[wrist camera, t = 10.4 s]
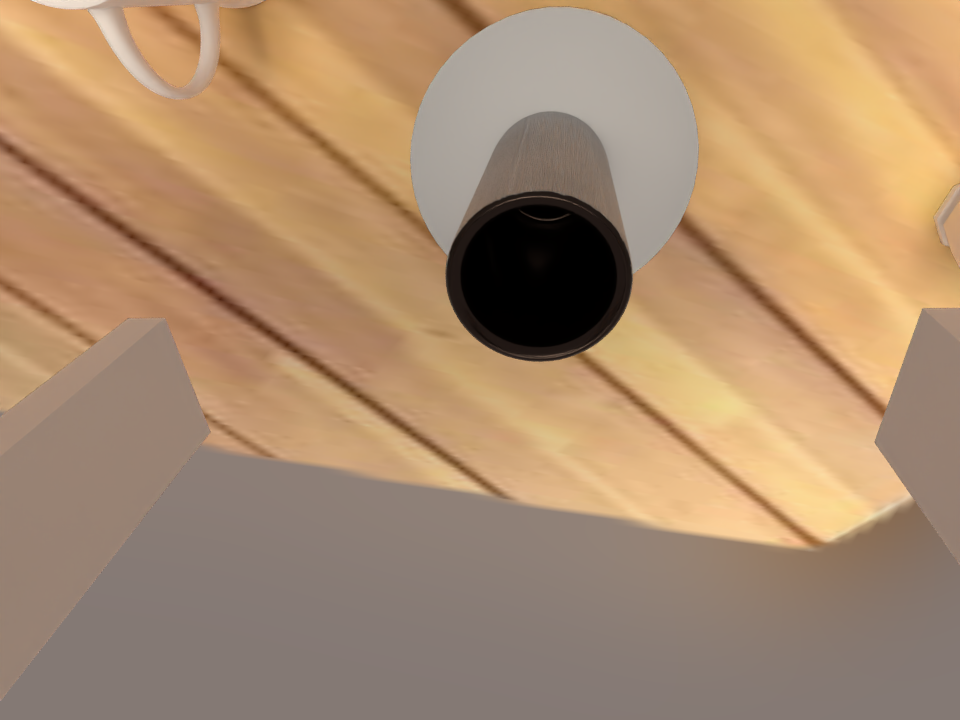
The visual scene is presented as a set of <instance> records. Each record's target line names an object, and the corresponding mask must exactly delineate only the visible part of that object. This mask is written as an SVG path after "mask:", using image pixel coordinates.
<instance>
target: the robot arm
mask: <svg viewBox="0 0 960 720" xmlns="http://www.w3.org/2000/svg"><path fill="white" fill-rule="evenodd" d="M209 433H210V430H209V427H208V425H207V422H206V420H205V417H204V414H203V412H202V409H201V407H200V404H199V402H198V399H197V397H196V394H195V392H194V389H193V387H192V384H191V382H190V379H189V377H188V374H187V372H186V369H185V367H184V364H183V362H182V359H181V357H180V354H179V352H178V349H177V347H176V344H175V341H174V339H173V336H172V334H171V331H170V329H169V326H168V324H167V321H166V319H165V318H128V319H127V320H125V321H124V322H123V323H121V324H120V325H119V326H117V327H116V328H115V329H114V330H112V331H111V332H110V333H108V334H107V335H106V336H104V337H103V338H102V339H101V340H99V341H98V342H97V343H95V344H94V345H93V346H91V347H90V348H89V349H88V350H86V351H85V352H84V353H82V354H81V355H80V356H79V357H77V358H76V359H75V360H73V361H72V362H71V363H69V364H68V365H67V366H66V367H64V368H63V369H62V370H60V371H59V372H58V373H56V374H55V375H54V376H53V377H51V378H50V379H49V380H47V381H46V382H45V383H43V384H42V385H41V386H40V387H38V388H37V389H36V390H34V391H33V392H32V393H30V394H29V395H28V396H27V397H25V398H24V399H23V400H21V401H20V402H19V403H18V404H16V405H15V406H14V407H12V408H11V409H10V410H8V411H7V412H6V413H5V414H3V415H2V416H1V417H0V701H1V700H2V698H3V697H4V696H5V695H6V693H7V692H8V691H9V689H10V688H11V687H12V686H13V684H14V683H15V682H16V681H17V679H18V678H19V677H20V675H21V674H22V673H23V672H24V670H25V669H26V668H27V666H28V665H29V664H30V663H31V661H32V660H33V659H34V657H35V656H36V655H37V654H38V652H39V651H40V650H41V649H42V647H43V646H44V645H45V643H46V642H47V641H48V640H49V638H50V637H51V636H52V635H53V633H54V632H55V631H56V629H57V628H58V627H59V626H60V624H61V623H62V622H63V620H64V619H65V618H66V617H67V615H68V614H69V613H70V611H71V610H72V609H73V608H74V606H75V605H76V604H77V602H78V601H79V600H80V599H81V597H82V596H83V595H84V594H85V592H86V591H87V590H88V588H89V587H90V586H91V584H92V583H93V582H94V581H95V579H96V578H97V577H98V576H99V574H100V573H101V572H102V570H103V569H104V568H105V566H106V565H107V564H108V563H109V562H110V560H111V559H112V558H113V556H114V555H115V554H116V553H117V551H118V550H119V549H120V547H121V546H122V545H123V544H124V542H125V541H126V540H127V538H128V537H129V536H130V534H131V533H132V532H133V531H134V529H135V528H136V527H137V526H138V524H139V523H140V522H141V521H142V519H143V518H144V517H145V515H146V514H147V513H148V512H149V510H150V509H151V508H152V506H153V505H154V504H155V503H156V501H157V500H158V499H159V497H160V496H161V495H162V494H163V492H164V491H165V490H166V489H167V487H168V486H169V485H170V483H171V482H172V481H173V479H174V478H175V477H176V476H177V474H178V473H179V472H180V471H181V469H182V468H183V467H184V465H185V464H186V463H187V462H188V460H189V459H190V458H191V456H192V455H193V454H194V453H195V451H196V450H197V449H198V448H199V446H200V445H201V444H202V442H203V441H204V440H205V439H206V437H207V436H208V435H209ZM875 444H876V445H877V447H878V448H879V450H880V451H881V453H882V454H883V455H884V457H885V458H886V460H887V461H888V463H889V464H890V465H891V467H892V468H893V470H894V471H895V473H896V474H897V476H898V477H899V478H900V480H901V481H902V483H903V484H904V486H905V487H906V489H907V490H908V491H909V493H910V494H911V496H912V497H913V499H914V500H915V502H916V503H917V504H918V506H919V507H920V509H921V510H922V512H923V513H924V515H925V516H926V517H927V519H928V520H929V522H930V523H931V524H932V526H933V527H934V529H935V530H936V532H937V533H938V535H939V536H940V538H941V539H942V540H943V542H944V543H945V545H946V546H947V548H948V549H949V551H950V552H951V553H952V555H953V556H954V558H955V559H956V561H957V562H958V564H959V565H960V308H922V311H921V314H920V316H919V319H918V322H917V325H916V328H915V330H914V333H913V336H912V339H911V342H910V344H909V347H908V350H907V353H906V355H905V358H904V361H903V364H902V367H901V369H900V372H899V375H898V378H897V381H896V383H895V386H894V389H893V392H892V394H891V397H890V400H889V403H888V406H887V408H886V411H885V414H884V417H883V420H882V422H881V425H880V428H879V431H878V433H877V436H876V439H875Z"/></svg>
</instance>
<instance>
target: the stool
mask: <svg viewBox="0 0 960 720" xmlns="http://www.w3.org/2000/svg"><path fill="white" fill-rule="evenodd" d="M546 111H556V112H562V113H566V114H570V115H572V116H575V117H577V118H578V119H580V120H582V121H583V122H585V123H586V124H587V125H588V126H589V127H591V129H592V130H593V131H594V132H595V133H596V135H597V136H598V138H599V139H600V141H601V143H602V145H603V147H604V149H605V152H606V154H607V158H608V162H609V167H610V171H611V175H612V179H613V183H614V188H615V192H616V196H617V200H618V205H619V209H620V213H621V217H622V221H623V226H624V230H625V234H626V238H627V243H628V247H629V251H630V256H631V261H632V269H633V274H634V273H635V272H636V271H638V270H639V269H640V268H642V267H643V266H644V265H646V264H647V263H648V262H649V261H650V260H651V259H652V258H653V257H654V256H655V255H656V254H657V253H658V252H659V251H660V249H661V248H662V247H663V246H664V245H665V243H666V242H667V241H668V240H669V238H670V237H671V235H672V234H673V232H674V231H675V229H676V227H677V226H678V224H679V223H680V221H681V219H682V217H683V214H684V212H685V210H686V208H687V206H688V203H689V200H690V197H691V194H692V191H693V188H694V184H695V178H696V173H697V168H698V151H699V144H698V132H697V124H696V120H695V115H694V111H693V107H692V104H691V101H690V99H689V96H688V94H687V91H686V88H685V86H684V85H683V83H682V81H681V79H680V77H679V76H678V74H677V72H676V70H675V69H674V67H673V66H672V65H671V64H670V62H669V61H668V60H667V58H666V57H665V56H664V54H663V53H662V52H661V51H660V50H659V49H658V48H657V47H656V46H654V45H653V44H652V43H651V42H650V41H649V40H648V39H647V38H646V37H644V36H643V35H641V34H640V33H639V32H637V31H636V30H634V29H633V28H631V27H630V26H628V25H627V24H625V23H623V22H621V21H619V20H617V19H615V18H613V17H610V16H608V15H605V14H602V13H599V12H596V11H592V10H589V9H582V8H576V7H544V8H537V9H531V10H527V11H524V12H520V13H517V14H514V15H511V16H508V17H506V18H504V19H502V20H500V21H498V22H496V23H494V24H492V25H490V26H488V27H486V28H485V29H483V30H482V31H480V32H479V33H477V34H476V35H474V36H473V37H471V38H470V39H469V40H467V41H466V42H465V43H464V44H463V45H462V46H461V47H460V48H458V49H457V50H456V51H455V52H454V53H453V54H452V55H451V57H450V58H449V59H448V60H447V61H446V62H445V64H444V65H443V66H442V67H441V68H440V70H439V71H438V73H437V74H436V76H435V78H434V79H433V81H432V82H431V84H430V85H429V87H428V89H427V92H426V94H425V96H424V98H423V100H422V102H421V105H420V108H419V111H418V114H417V117H416V120H415V124H414V130H413V135H412V140H411V156H410V163H411V178H412V183H413V188H414V194H415V198H416V201H417V204H418V207H419V210H420V213H421V215H422V217H423V219H424V221H425V224H426V226H427V228H428V230H429V231H430V233H431V234H432V236H433V238H434V239H435V241H436V242H437V244H438V245H439V246H440V247H441V249H442V250H443V251H444V252H445V254H446V255H447V256H448V254H449V250H450V248H451V245H452V242H453V240H454V238H455V235H456V233H457V231H458V229H459V226H460V224H461V222H462V220H463V217H464V215H465V213H466V211H467V209H468V206H469V204H470V202H471V200H472V197H473V195H474V193H475V191H476V189H477V186H478V184H479V182H480V180H481V177H482V175H483V173H484V171H485V169H486V166H487V164H488V162H489V160H490V157H491V155H492V153H493V151H494V149H495V147H496V145H497V143H498V142H499V140H500V139H501V137H502V136H503V135H504V133H505V132H506V131H507V130H508V129H509V128H510V127H511V126H512V125H514V124H515V123H516V122H518V121H519V120H521V119H523V118H525V117H527V116H529V115H532V114H535V113H539V112H546Z"/></svg>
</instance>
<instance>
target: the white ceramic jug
mask: <svg viewBox="0 0 960 720" xmlns="http://www.w3.org/2000/svg"><path fill="white" fill-rule="evenodd" d="M31 1H34V2H36V3H39V4H42V5H46V6H50V7H54V8H60V9H88V12H89V13H90V14H91V15H92V16H93V18H94V19H95V21H96V22H97V24H98V26H99V28H100V29H101V31H102V33H103V35H104V37H105V38H106V40H107V42H108V44H109V45H110V47H111V48H112V50H113V52H114V53H115V55H116V56H117V57H118V59H119V60H120V61H121V63H122V64H123V65H124V66H125V68H126V69H127V70H128V71H129V72H130V73H131V74H132V75H133V76H134V77H135V78H136V79H137V80H138V81H139V82H140V83H141V84H142V85H144V86H145V87H146V88H148V89H149V90H151V91H152V92H154V93H156V94H158V95H161V96H163V97H166V98H170V99H188V98H192V97H195V96H197V95H199V94H200V93H202V92H203V91H204V90H205V89H206V88H207V87H208V85H209V84H210V82H211V81H212V79H213V77H214V74H215V71H216V68H217V64H218V60H219V53H220V20H219V7H225V8H245V7H250V6H253V5H256V4H259V3H261V2H263V1H265V0H31ZM191 4H194V6H195V8H196V11H197V15H198V18H199V23H200V32H201V50H200V58H199V63H198V67H197V70H196V72H195V74H194V76H193V78H192V79H191V81H190V82H189V83H188V84H187V85H185V86H183V87H176V86H173V85H171V84H169V83H168V82H166V81H165V80H164V79H163V78H161V77H160V76H159V75H158V74H157V73H156V72H155V71H154V70H153V68H152V67H151V66H150V65H149V63H148V62H147V61H146V59H145V58H144V56H143V55H142V53H141V52H140V50H139V48H138V47H137V45H136V43H135V41H134V39H133V37H132V35H131V33H130V30H129V27H128V25H127V21H126V18H125V14H124V10H123V8H125V7H147V6H169V5H191Z"/></svg>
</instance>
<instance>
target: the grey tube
mask: <svg viewBox="0 0 960 720" xmlns="http://www.w3.org/2000/svg"><path fill="white" fill-rule="evenodd" d="M632 282H633V269H632V261H631V256H630V251H629V247H628V243H627V238H626V234H625V230H624V226H623V221H622V217H621V213H620V209H619V205H618V200H617V196H616V192H615V188H614V183H613V179H612V175H611V171H610V167H609V162H608V158H607V154H606V152H605V149H604V147H603V145H602V143H601V141H600V139H599V138H598V136H597V135H596V133H595V132H594V131H593V130H592V129H591V127H589V126H588V125H587V124H586V123H585V122H583V121H582V120H580V119H578V118H577V117H575V116H572V115H570V114H566V113H562V112H556V111H546V112H539V113H535V114H532V115H529V116H527V117H525V118H523V119H521V120H519V121H518V122H516V123H515V124H514V125H512V126H511V127H510V128H509V129H508V130H507V131H506V132H505V133H504V135H503V136H502V137H501V139H500V140H499V142H498V143H497V145H496V147H495V149H494V151H493V153H492V155H491V157H490V160H489V162H488V164H487V166H486V169H485V171H484V173H483V175H482V177H481V180H480V182H479V184H478V186H477V189H476V191H475V193H474V195H473V197H472V200H471V202H470V204H469V206H468V209H467V211H466V213H465V215H464V217H463V220H462V222H461V224H460V226H459V229H458V231H457V233H456V235H455V238H454V240H453V242H452V245H451V248H450V250H449V254H448V258H447V263H446V287H447V293H448V296H449V300H450V303H451V305H452V308H453V310H454V312H455V314H456V315H457V317H458V319H459V320H460V322H461V323H462V324H463V326H464V327H465V328H466V329H467V331H468V332H469V333H470V334H471V335H472V336H473V337H475V338H476V339H477V340H478V341H479V342H481V343H482V344H484V345H485V346H487V347H488V348H490V349H492V350H494V351H496V352H498V353H500V354H502V355H505V356H508V357H511V358H515V359H519V360H525V361H538V362H542V361H554V360H560V359H564V358H568V357H571V356H574V355H576V354H579V353H581V352H583V351H585V350H587V349H589V348H591V347H592V346H594V345H595V344H597V343H598V342H599V341H601V340H602V339H603V338H604V337H605V336H606V335H607V334H608V333H609V332H610V331H611V330H612V329H613V328H614V327H615V325H616V324H617V323H618V321H619V320H620V318H621V317H622V315H623V313H624V311H625V309H626V307H627V304H628V301H629V298H630V295H631V290H632Z"/></svg>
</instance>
